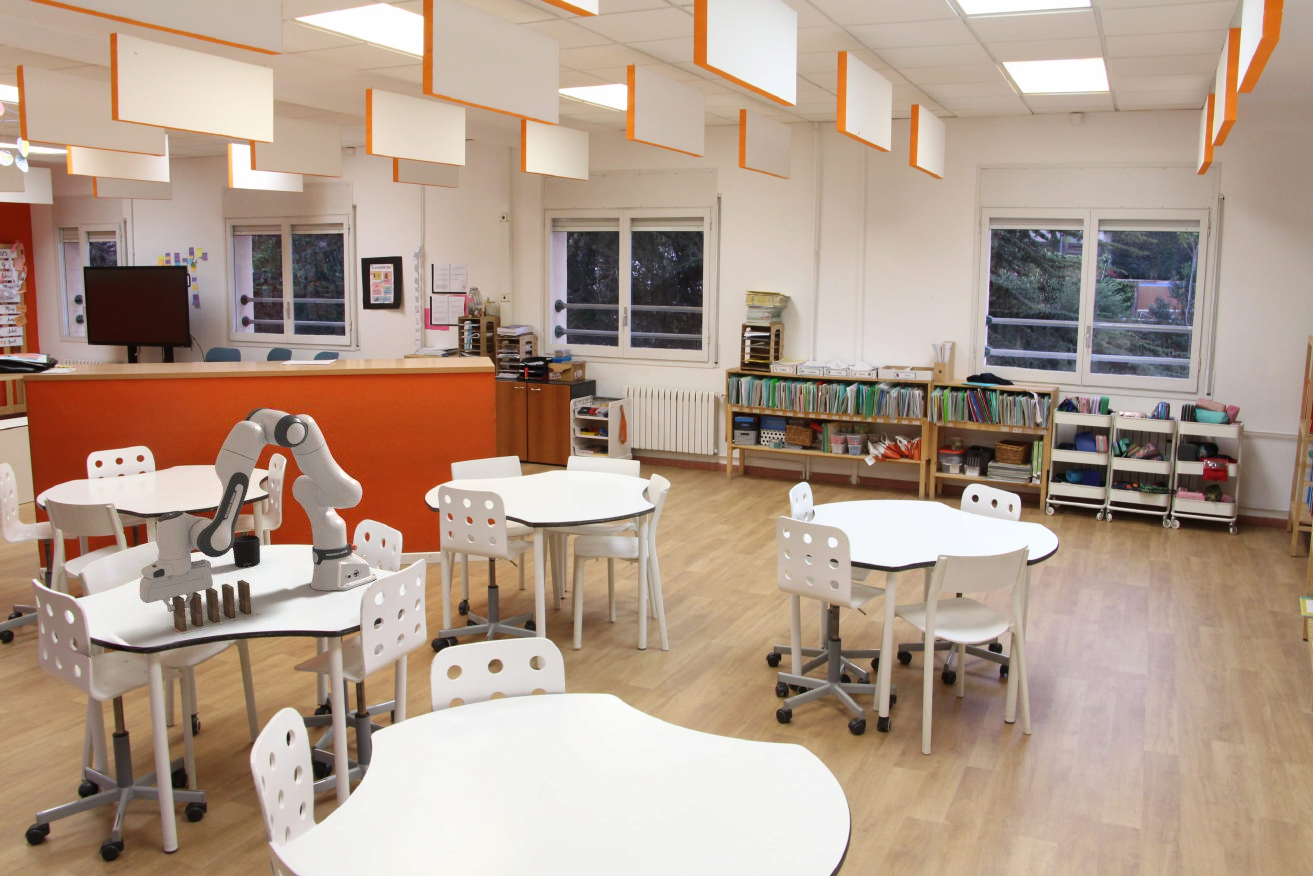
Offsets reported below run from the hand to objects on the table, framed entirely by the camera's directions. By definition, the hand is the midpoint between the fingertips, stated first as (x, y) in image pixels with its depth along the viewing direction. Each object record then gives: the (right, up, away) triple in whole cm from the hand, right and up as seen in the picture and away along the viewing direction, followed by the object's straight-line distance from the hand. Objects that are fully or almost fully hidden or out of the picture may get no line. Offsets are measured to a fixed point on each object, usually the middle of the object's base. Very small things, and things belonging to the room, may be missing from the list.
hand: (178, 609), depth 293 cm
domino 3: (+10, -4, +12) cm, 16 cm away
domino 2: (+7, -5, +8) cm, 12 cm away
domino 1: (+3, -6, +5) cm, 8 cm away
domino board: (+7, -6, +9) cm, 13 cm away
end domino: (0, -6, +1) cm, 6 cm away
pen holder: (-8, +4, +68) cm, 69 cm away
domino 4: (+14, -4, +16) cm, 21 cm away
